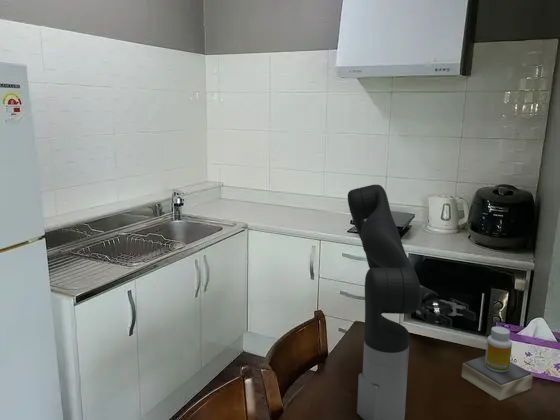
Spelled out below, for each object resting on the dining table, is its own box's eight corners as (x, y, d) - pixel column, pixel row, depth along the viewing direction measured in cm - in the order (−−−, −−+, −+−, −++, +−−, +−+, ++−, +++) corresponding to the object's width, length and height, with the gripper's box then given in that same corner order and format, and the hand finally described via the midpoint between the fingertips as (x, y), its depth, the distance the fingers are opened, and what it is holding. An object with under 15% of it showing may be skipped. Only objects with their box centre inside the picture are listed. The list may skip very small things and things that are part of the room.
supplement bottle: (511, 374, 107) (516, 336, 105) (487, 371, 108) (491, 334, 106) (505, 362, 112) (509, 326, 110) (482, 360, 113) (486, 324, 111)
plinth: (499, 400, 104) (501, 384, 103) (461, 376, 113) (462, 361, 113) (531, 388, 108) (533, 373, 108) (492, 366, 118) (493, 352, 117)
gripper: (400, 290, 129) (444, 312, 114) (438, 282, 135) (484, 302, 121) (399, 315, 130) (442, 339, 116) (436, 306, 136) (481, 328, 122)
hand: (463, 320), depth 118 cm, fingers open, 8 cm apart
